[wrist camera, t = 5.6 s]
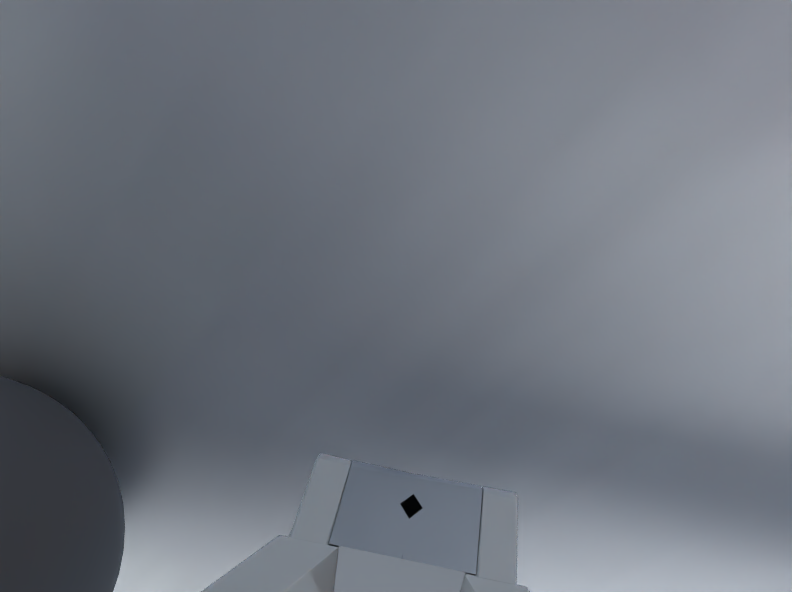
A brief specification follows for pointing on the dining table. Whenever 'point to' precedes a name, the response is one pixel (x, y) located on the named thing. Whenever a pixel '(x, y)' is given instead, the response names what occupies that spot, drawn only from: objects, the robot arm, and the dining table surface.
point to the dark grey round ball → (55, 499)
